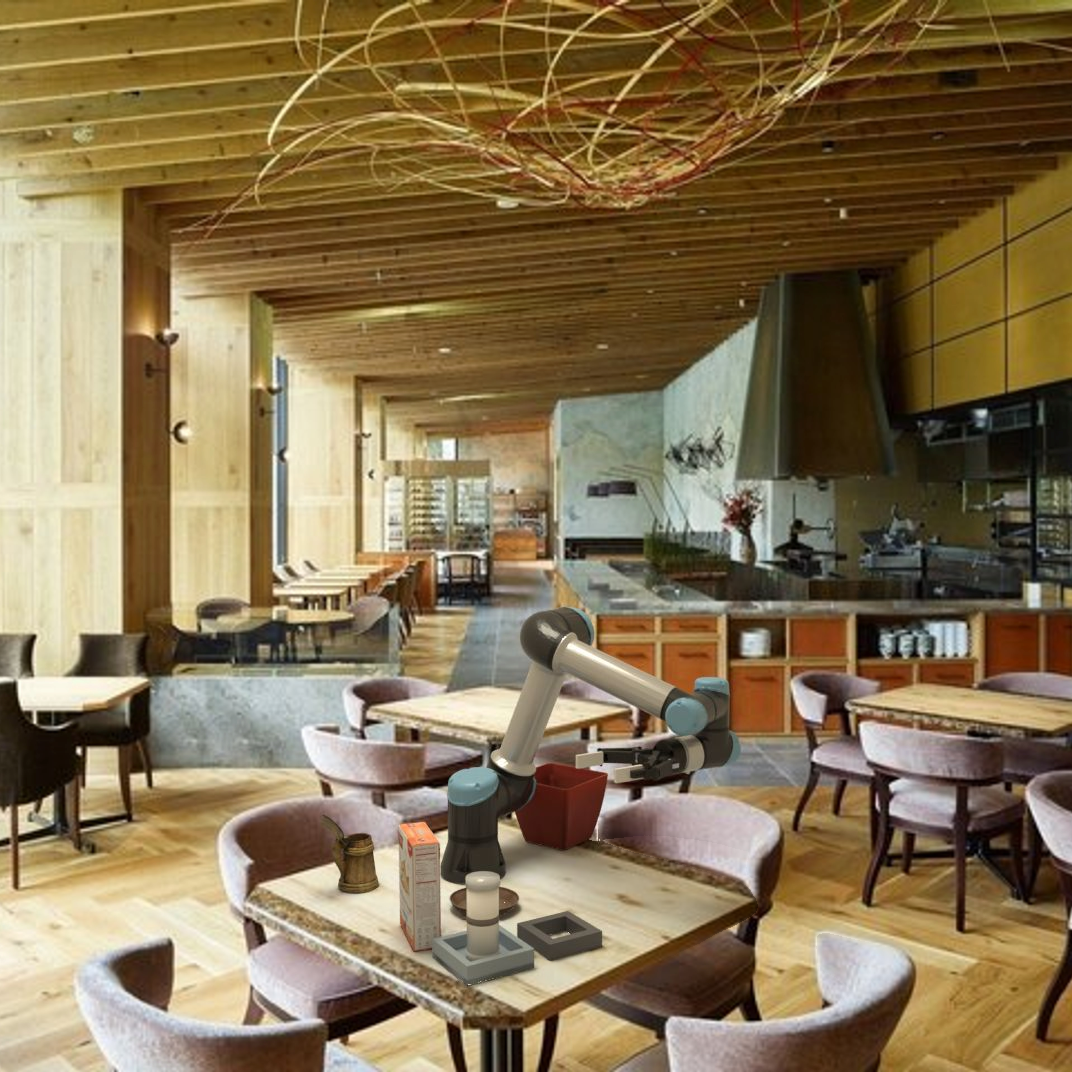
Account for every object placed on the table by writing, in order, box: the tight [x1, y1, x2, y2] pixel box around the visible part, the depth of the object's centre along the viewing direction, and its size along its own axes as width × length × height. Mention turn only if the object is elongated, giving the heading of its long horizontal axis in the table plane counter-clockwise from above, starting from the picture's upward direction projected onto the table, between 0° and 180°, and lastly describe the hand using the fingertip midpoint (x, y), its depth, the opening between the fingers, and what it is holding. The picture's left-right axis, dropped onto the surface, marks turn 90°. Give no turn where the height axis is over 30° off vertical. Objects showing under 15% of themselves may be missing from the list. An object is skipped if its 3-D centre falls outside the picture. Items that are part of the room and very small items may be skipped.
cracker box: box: [397, 821, 442, 952], centre depth 205 cm, size 14×6×21 cm, turn 18°
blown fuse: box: [465, 871, 501, 962], centre depth 193 cm, size 6×6×15 cm
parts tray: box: [431, 924, 535, 986], centre depth 193 cm, size 14×14×4 cm
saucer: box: [449, 886, 520, 917], centre depth 220 cm, size 15×15×3 cm
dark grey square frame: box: [516, 910, 603, 961], centre depth 202 cm, size 12×12×3 cm
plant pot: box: [514, 762, 609, 851], centre depth 265 cm, size 19×19×17 cm
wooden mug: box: [321, 814, 380, 894], centre depth 231 cm, size 9×14×18 cm, turn 132°
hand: (595, 768), depth 210 cm, fingers open, 13 cm apart
